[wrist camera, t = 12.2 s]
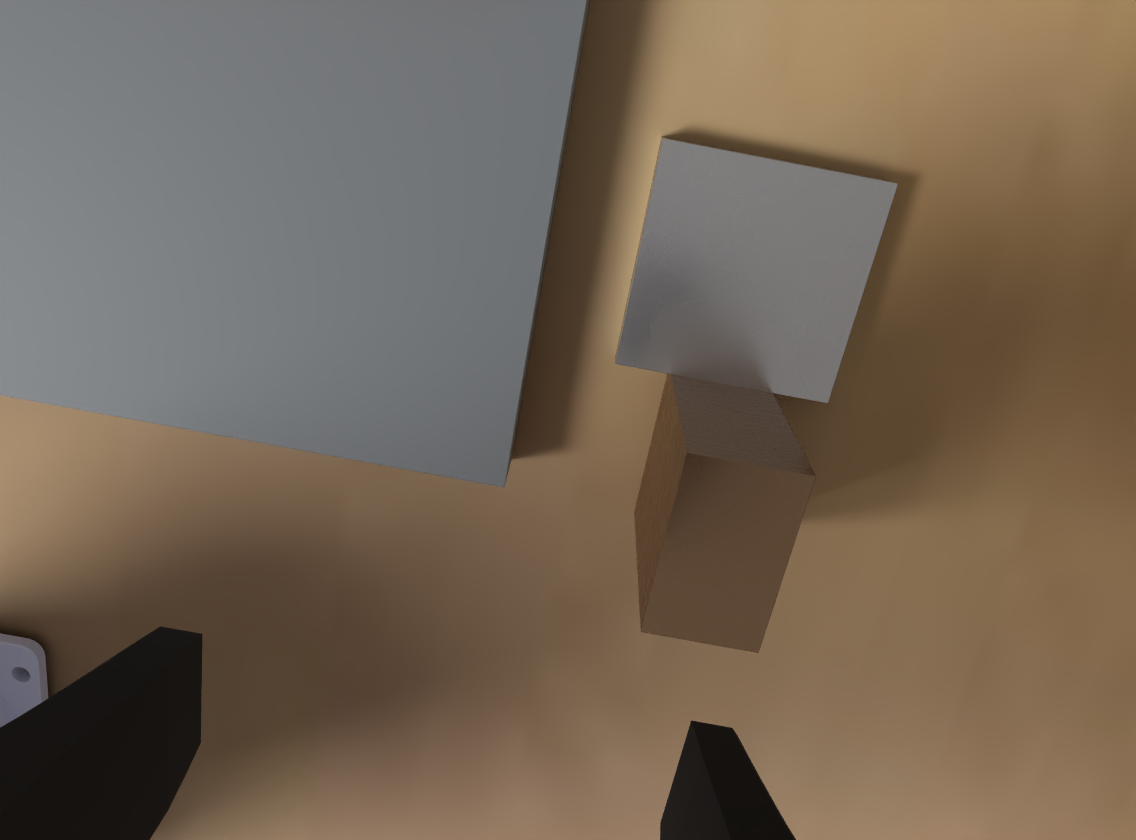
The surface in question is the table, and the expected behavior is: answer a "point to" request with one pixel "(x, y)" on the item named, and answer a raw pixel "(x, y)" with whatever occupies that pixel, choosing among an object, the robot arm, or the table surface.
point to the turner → (736, 371)
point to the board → (284, 216)
